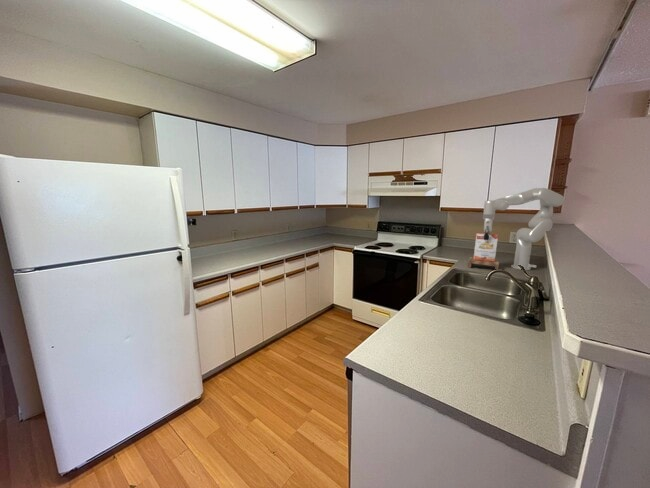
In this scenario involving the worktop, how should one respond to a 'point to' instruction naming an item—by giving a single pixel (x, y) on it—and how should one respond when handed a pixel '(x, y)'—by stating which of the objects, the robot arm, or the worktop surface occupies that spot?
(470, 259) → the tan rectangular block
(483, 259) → the cracker box
